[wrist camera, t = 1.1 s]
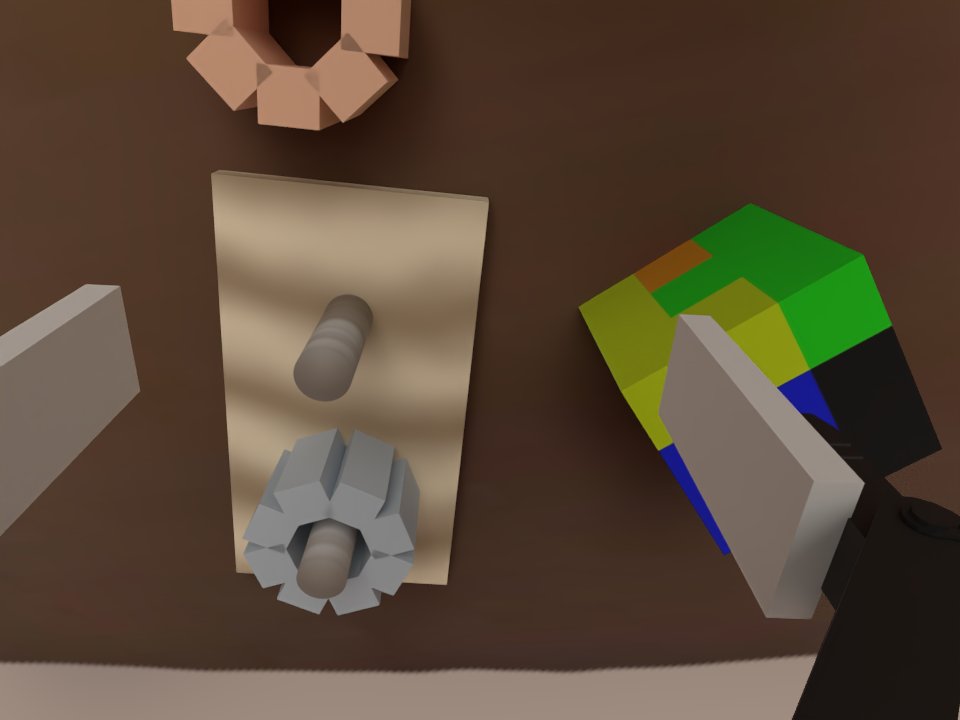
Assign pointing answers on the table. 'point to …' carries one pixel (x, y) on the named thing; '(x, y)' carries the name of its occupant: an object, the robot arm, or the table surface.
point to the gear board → (397, 354)
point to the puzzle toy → (769, 336)
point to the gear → (336, 517)
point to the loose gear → (276, 78)
